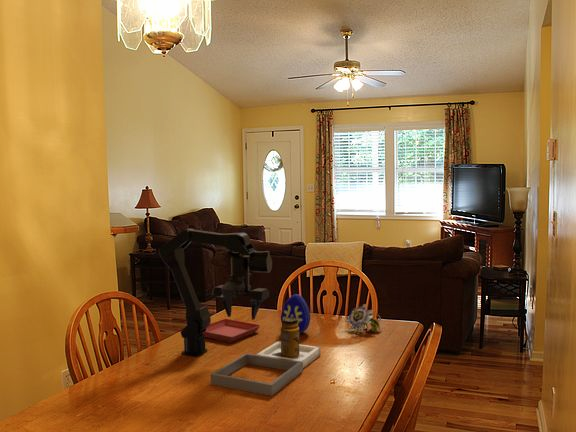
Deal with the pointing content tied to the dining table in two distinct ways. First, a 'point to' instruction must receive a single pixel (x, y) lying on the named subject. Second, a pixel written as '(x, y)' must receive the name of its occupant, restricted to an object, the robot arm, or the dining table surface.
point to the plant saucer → (230, 330)
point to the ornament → (297, 311)
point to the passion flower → (362, 319)
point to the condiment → (289, 339)
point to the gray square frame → (270, 389)
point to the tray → (306, 350)
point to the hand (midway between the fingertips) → (241, 318)
